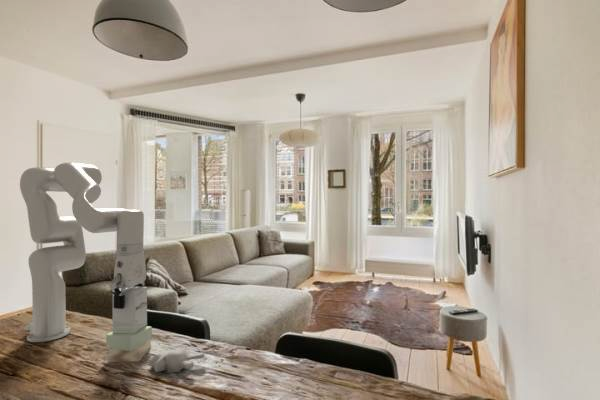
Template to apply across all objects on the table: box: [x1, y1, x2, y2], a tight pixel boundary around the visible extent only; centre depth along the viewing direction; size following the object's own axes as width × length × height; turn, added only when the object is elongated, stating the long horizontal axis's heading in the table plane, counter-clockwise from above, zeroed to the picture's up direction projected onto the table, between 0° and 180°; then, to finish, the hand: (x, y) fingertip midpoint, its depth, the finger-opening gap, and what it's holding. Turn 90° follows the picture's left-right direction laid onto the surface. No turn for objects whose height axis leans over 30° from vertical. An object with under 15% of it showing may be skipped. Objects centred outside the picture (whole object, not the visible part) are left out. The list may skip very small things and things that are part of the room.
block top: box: [105, 325, 153, 351], centre depth 105 cm, size 9×9×4 cm
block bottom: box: [107, 339, 152, 363], centre depth 105 cm, size 9×9×4 cm
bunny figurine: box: [148, 347, 205, 373], centre depth 96 cm, size 10×5×15 cm
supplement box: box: [112, 286, 148, 334], centre depth 106 cm, size 7×7×13 cm
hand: (129, 303), depth 106 cm, fingers open, 9 cm apart
